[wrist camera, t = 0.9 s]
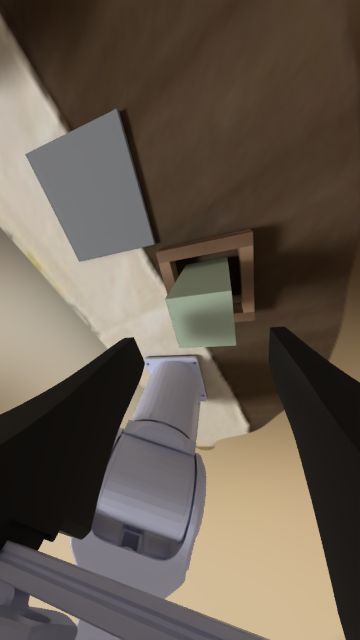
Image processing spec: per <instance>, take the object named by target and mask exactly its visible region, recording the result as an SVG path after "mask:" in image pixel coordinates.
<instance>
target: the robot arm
mask: <svg viewBox="0 0 360 640" xmlns="http://www.w3.org/2000/svg"><path fill="white" fill-rule="evenodd" d="M269 363H270V367H271V371H272V375H273V380H274V382H275V385H276V388H277V391H278V393H279V396H280V399H281V401H282V404H283V407H284V409H285V412H286V415H287V417H288V420H289V423H290V425H291V428H292V431H293V434H294V437H295V440H296V444H297V448H298V451H299V455H300V458H301V462H302V466H303V470H304V473H305V477H306V481H307V485H308V489H309V493H310V496H311V500H312V504H313V508H314V512H315V516H316V520H317V524H318V528H319V533H320V537H321V541H322V545H323V549H324V553H325V558H326V562H327V566H328V570H329V575H330V579H331V583H332V587H333V592H334V597H335V601H336V605H337V610H338V614H339V618H340V621H341V624H342V628H343V631H344V635H345V638H346V640H360V382H358V381H356V380H355V379H353V378H352V377H350V376H349V375H347V374H346V373H344V372H343V371H342V370H340V369H339V368H337V367H336V366H334V365H333V364H331V363H330V362H329V361H327V360H326V359H325V358H323V357H322V356H321V355H319V354H318V353H317V352H315V351H314V350H313V349H312V348H310V347H309V346H308V345H307V344H305V343H304V342H303V341H302V340H300V339H299V338H298V337H297V336H296V335H294V334H293V333H292V332H291V331H289V330H288V329H287V328H286V327H272V328H270V340H269ZM144 365H146V367H147V370H148V372H149V374H150V377H149V380H148V382H147V385H146V387H145V389H144V392H143V394H142V396H141V399H140V401H139V404H138V406H137V409H136V411H135V413H134V416H133V418H132V420H128V423H127V425H126V427H125V430H124V429H122V428H119V427H120V424H121V422H122V420H123V417H124V415H125V413H126V410H127V408H128V406H129V404H130V401H131V399H132V397H133V395H134V393H135V390H136V388H137V386H138V384H139V381H140V379H141V376H142V372H143V369H144ZM206 400H207V396H206V391H205V387H204V383H203V379H202V375H201V370H200V366H199V362H198V358H197V357H196V356H175V357H146V358H145V359H143V357H142V355H141V353H140V350H139V348H138V346H137V344H136V341H135V339H134V337H132V338H124V339H122V340H121V341H119V342H118V343H116V344H115V345H113V346H112V347H110V348H109V349H108V350H106V351H105V352H104V353H103V354H101V355H100V356H98V357H97V358H96V359H94V360H93V361H91V362H90V363H89V364H87V365H86V366H84V367H83V368H82V369H80V370H78V371H77V372H76V373H74V374H73V375H71V376H70V377H68V378H67V379H65V380H64V381H62V382H60V383H59V384H57V385H55V386H54V387H52V388H50V389H49V390H47V391H45V392H43V393H42V394H40V395H38V396H36V397H34V398H32V399H30V400H29V401H27V402H25V403H23V404H21V405H19V406H17V407H15V408H13V409H11V410H9V411H7V412H5V413H3V414H1V415H0V640H269V639H267V638H264V637H262V636H259V635H256V634H254V633H251V632H248V631H246V630H243V629H240V628H238V627H235V626H233V625H230V624H228V623H225V622H222V621H220V620H217V619H215V618H212V617H209V616H207V615H204V614H201V613H199V612H196V611H193V610H191V609H188V608H186V607H183V606H180V605H178V604H175V603H173V602H170V601H167V600H165V598H166V597H168V596H169V595H170V594H171V593H173V592H174V591H175V590H176V589H178V588H179V587H180V586H181V585H182V584H183V583H184V581H185V575H186V571H187V570H188V568H189V564H190V559H191V555H192V550H193V546H194V542H195V538H196V537H197V535H198V532H199V529H200V526H201V522H202V517H203V512H204V505H205V496H206V471H205V466H204V463H203V461H202V458H201V456H200V455H199V454H198V453H195V447H196V438H197V430H198V421H199V411H200V402H201V401H206ZM58 533H61V534H65V535H67V536H71V538H70V546H71V550H72V554H73V557H74V560H75V563H76V565H73V564H71V563H68V562H66V561H63V560H60V559H58V558H55V557H52V556H50V555H47V554H45V553H42V552H39V551H38V549H39V547H40V546H41V544H42V542H43V540H44V539H45V540H48V541H51V542H53V541H54V540H55V538H56V536H57V534H58ZM30 595H31V596H33V597H35V598H37V599H39V600H41V601H43V602H45V603H47V604H49V605H51V606H54V607H56V608H58V609H60V610H62V611H64V612H66V613H68V614H70V615H72V616H74V617H76V618H78V620H77V622H76V624H75V623H74V622H73V621H72V620H71V619H70V618H69V617H68V616H67V615H65V614H63V613H60V612H57V611H52V610H48V609H42V608H35V607H29V605H28V601H29V597H30Z"/></svg>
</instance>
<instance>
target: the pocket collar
mask: <svg viewBox="0 0 360 640" xmlns="http://www.w3.org/2000/svg"><path fill="white" fill-rule="evenodd" d="M237 248H238V255H239V272H240V289H241V303H240V304H233V314H234V322H242V321H255V317H254V260H253V231H252V230H251V229H246V230H241V231H236V232H232V233H227V234H223V235H218V236H214V237H209V238H205V239H200V240H196V241H191V242H187V243H182V244H178V245H173V246H169V247H164V248H161V249H160V250H158V251H157V252H156V255H157V259H158V262H159V266H160V269H161V273H162V276H163V280H164V283H165V287H166V290H167V294H169V292H170V290H171V289H172V287H173V285H174V284H175V282H176V281H177V279H178V277H179V275H178V271H177V266H176V262H175V260H181V259H186V258H191V257H196V256H201V255H206V254H211V253H216V252H222V251H227V250H232V249H237Z"/></svg>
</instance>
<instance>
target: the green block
mask: <svg viewBox="0 0 360 640" xmlns="http://www.w3.org/2000/svg"><path fill="white" fill-rule="evenodd" d="M165 300H166V304H167V307H168V310H169V314H170V317H171V321H172V324H173V327H174V331H175V334H176V338H177V341H178V344H179V348H190V347H212V346H233V345H236V338H235V326H234V314H233V303H232V291H231V283H230V275H229V267H228V259H227V257H225V258H219V259H214V260H208V261H203V262H197V263H192V264H187V265H186V266H185V267H184V269H183V271H182V272H181V274H180V276H179V277H178V279H177V281H176V282H175V284H174V285H173V287H172V289H171V290H170V292H169V294H168V295H167V297H166V299H165Z"/></svg>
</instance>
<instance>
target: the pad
mask: <svg viewBox="0 0 360 640" xmlns="http://www.w3.org/2000/svg"><path fill="white" fill-rule="evenodd" d="M25 155H26V157H27V159H28V161H29V163H30V165H31V167H32V169H33V171H34V173H35V175H36V177H37V178H38V180H39V182H40V184H41V186H42V188H43V190H44V192H45V194H46V196H47V198H48V200H49V202H50V204H51V206H52V208H53V210H54V212H55V214H56V216H57V218H58V220H59V222H60V224H61V226H62V228H63V230H64V232H65V234H66V236H67V238H68V240H69V242H70V244H71V246H72V248H73V250H74V252H75V254H76V256H77V258H78V260H79V262H80V261H84V260H89V259H93V258H97V257H102V256H106V255H110V254H115V253H119V252H124V251H128V250H132V249H137V248H141V247H145V246H150V245H154V244H156V242H155V239H154V235H153V232H152V228H151V224H150V221H149V217H148V213H147V210H146V206H145V203H144V199H143V195H142V192H141V188H140V184H139V181H138V177H137V174H136V170H135V166H134V163H133V159H132V155H131V152H130V148H129V145H128V141H127V137H126V134H125V130H124V126H123V123H122V119H121V116H120V112H119V111H118V110H117V109H115V110H113V111H111V112H109V113H107V114H105V115H103V116H101V117H99V118H97V119H95V120H93V121H91V122H89V123H87V124H85V125H83V126H81V127H79V128H77V129H75V130H73V131H71V132H69V133H67V134H65V135H63V136H61V137H59V138H57V139H55V140H53V141H51V142H49V143H47V144H45V145H43V146H41V147H39V148H37V149H35V150H33V151H31V152H29V153H27V154H25Z"/></svg>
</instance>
